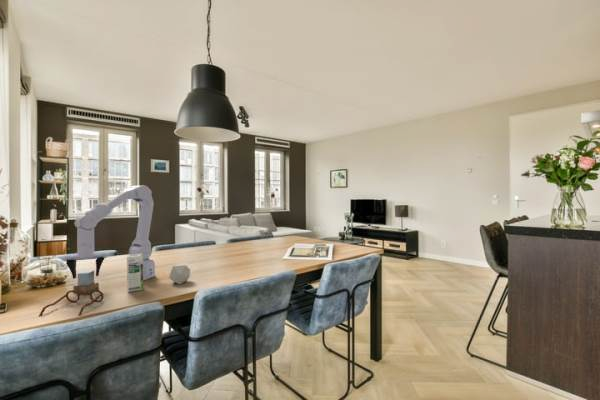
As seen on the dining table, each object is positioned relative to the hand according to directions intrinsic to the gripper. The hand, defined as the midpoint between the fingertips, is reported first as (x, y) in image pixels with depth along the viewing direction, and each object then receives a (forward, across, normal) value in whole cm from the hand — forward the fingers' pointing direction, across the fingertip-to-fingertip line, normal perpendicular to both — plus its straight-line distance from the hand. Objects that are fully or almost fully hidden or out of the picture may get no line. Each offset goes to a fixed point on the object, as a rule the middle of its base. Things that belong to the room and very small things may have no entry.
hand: (86, 276), depth 120 cm
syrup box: (+6, -18, +8) cm, 20 cm away
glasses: (+6, 0, +22) cm, 23 cm away
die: (+6, -36, +6) cm, 37 cm away
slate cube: (+3, 0, 0) cm, 3 cm away
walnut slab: (+6, 0, 0) cm, 6 cm away
